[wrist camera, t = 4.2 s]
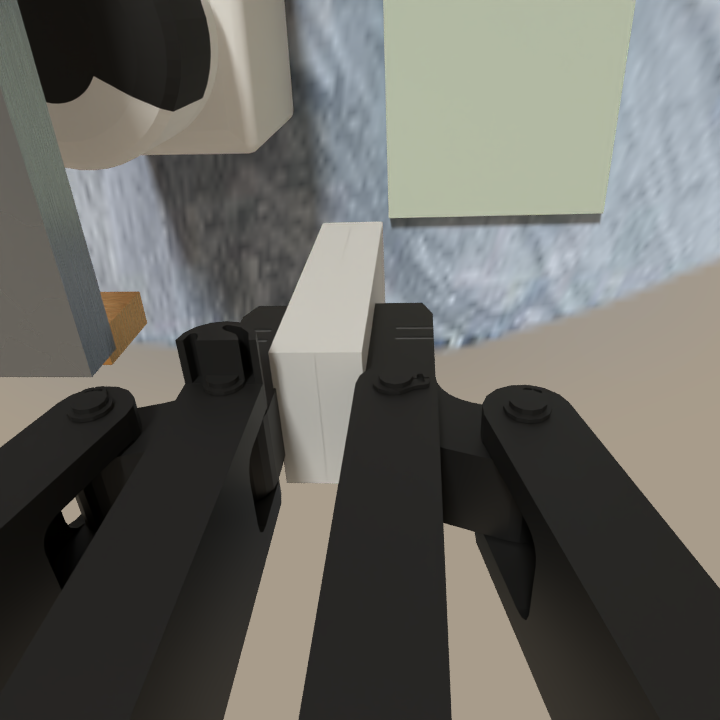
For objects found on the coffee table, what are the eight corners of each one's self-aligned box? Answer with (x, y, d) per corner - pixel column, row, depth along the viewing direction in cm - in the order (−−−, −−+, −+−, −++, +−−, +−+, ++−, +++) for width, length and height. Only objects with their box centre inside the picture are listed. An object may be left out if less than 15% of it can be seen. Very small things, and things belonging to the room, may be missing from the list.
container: (92, -79, 25) (-170, -140, 14) (279, -88, 24) (161, -161, 13) (133, 122, 29) (-45, 200, 18) (295, 118, 28) (215, 197, 17)
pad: (389, 214, 30) (388, 218, 30) (383, -26, 25) (382, -27, 25) (600, 209, 29) (602, 213, 29) (637, -42, 24) (642, -42, 24)
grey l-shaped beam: (178, 210, 28) (-20, 385, 15) (88, -242, 20) (-454, -633, 8) (242, 208, 28) (94, 385, 15) (175, -251, 20) (-240, -672, 7)
